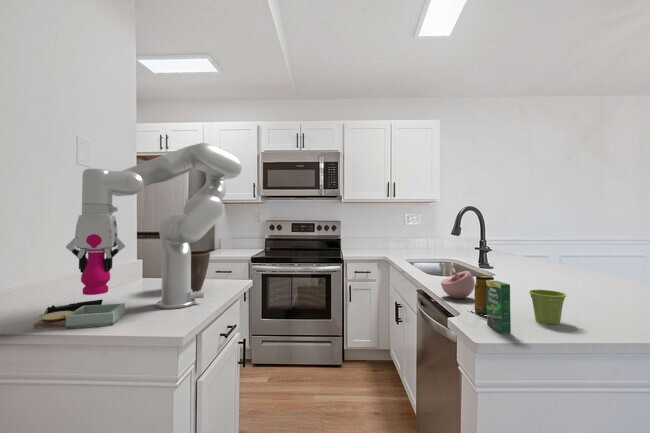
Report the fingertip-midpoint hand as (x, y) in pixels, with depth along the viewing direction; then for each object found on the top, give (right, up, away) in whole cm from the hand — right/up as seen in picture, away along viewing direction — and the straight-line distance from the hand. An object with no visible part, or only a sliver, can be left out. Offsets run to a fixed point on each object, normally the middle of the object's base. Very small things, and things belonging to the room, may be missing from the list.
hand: (95, 270), depth 100 cm
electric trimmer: (-15, -16, +11) cm, 24 cm away
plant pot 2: (+134, -15, 0) cm, 135 cm away
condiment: (+120, -15, +8) cm, 121 cm away
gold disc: (-10, -15, -1) cm, 18 cm away
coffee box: (+116, -15, -7) cm, 117 cm away
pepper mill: (0, -7, 0) cm, 7 cm away
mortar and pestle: (+119, -15, +29) cm, 123 cm away
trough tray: (0, -15, 0) cm, 15 cm away
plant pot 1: (+12, -15, +42) cm, 47 cm away
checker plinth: (-10, -15, -1) cm, 18 cm away
